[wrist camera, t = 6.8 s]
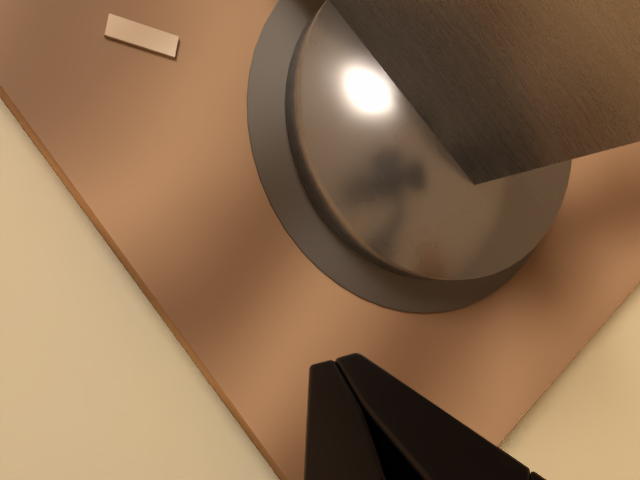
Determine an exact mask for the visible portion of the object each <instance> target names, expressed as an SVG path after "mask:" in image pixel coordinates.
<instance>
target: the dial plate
mask: <svg viewBox="0 0 640 480" xmlns="http://www.w3.org/2000/svg"><path fill="white" fill-rule="evenodd" d="M324 1H325V0H0V97H1V98H2V100H3V101H4V103H5V104H6V105H7V107H8V108H9V109H10V111H11V112H12V114H13V115H14V116H15V118H16V119H17V120H18V122H19V123H20V124H21V126H22V127H23V129H24V130H25V131H26V133H27V134H28V135H29V137H30V138H31V140H32V141H33V142H34V144H35V145H36V146H37V148H38V149H39V150H40V152H41V153H42V155H43V156H44V157H45V159H46V160H47V161H48V163H49V164H50V166H51V167H52V168H53V170H54V171H55V172H56V174H57V175H58V176H59V178H60V179H61V181H62V182H63V183H64V185H65V186H66V187H67V189H68V190H69V192H70V193H71V194H72V196H73V197H74V198H75V200H76V201H77V202H78V204H79V205H80V207H81V208H82V209H83V211H84V212H85V213H86V215H87V216H88V218H89V219H90V220H91V222H92V223H93V224H94V226H95V227H96V228H97V230H98V231H99V233H100V234H101V235H102V237H103V238H104V239H105V241H106V242H107V244H108V245H109V246H110V248H111V249H112V250H113V252H114V253H115V254H116V256H117V257H118V259H119V260H120V261H121V263H122V264H123V265H124V267H125V268H126V270H127V271H128V272H129V274H130V275H131V276H132V278H133V279H134V280H135V282H136V283H137V285H138V286H139V287H140V289H141V290H142V291H143V293H144V294H145V295H146V297H147V298H148V300H149V301H150V302H151V304H152V305H153V306H154V308H155V309H156V311H157V312H158V313H159V315H160V316H161V317H162V319H163V320H164V321H165V323H166V324H167V326H168V327H169V328H170V330H171V331H172V332H173V334H174V335H175V337H176V338H177V339H178V341H179V342H180V343H181V345H182V346H183V347H184V349H185V350H186V352H187V353H188V354H189V356H190V357H191V358H192V360H193V361H194V363H195V364H196V365H197V367H198V368H199V369H200V371H201V372H202V373H203V375H204V376H205V378H206V379H207V380H208V382H209V383H210V384H211V386H212V387H213V389H214V390H215V391H216V393H217V394H218V395H219V397H220V398H221V399H222V401H223V402H224V404H225V405H226V406H227V408H228V409H229V410H230V412H231V413H232V415H233V416H234V417H235V419H236V420H237V421H238V423H239V424H240V425H241V427H242V428H243V430H244V431H245V432H246V434H247V435H248V436H249V438H250V439H251V441H252V442H253V443H254V445H255V446H256V447H257V449H258V450H259V451H260V453H261V454H262V456H263V457H264V458H265V460H266V461H267V462H268V464H269V465H270V467H271V468H272V469H273V471H274V472H275V473H276V475H277V476H278V477H279V479H280V480H303V468H304V451H305V433H306V416H307V398H308V381H309V368H310V366H311V365H313V364H316V363H320V362H323V361H327V360H333V361H334V362H335V360H336V359H337V358H338V357H342V356H345V355H349V354H353V353H359V354H362V355H363V356H365V357H366V358H368V359H369V360H370V361H372V362H373V363H375V364H376V365H378V366H379V367H381V368H382V369H384V370H385V371H387V372H388V373H390V374H391V375H393V376H394V377H395V378H397V379H398V380H400V381H401V382H403V383H404V384H406V385H407V386H409V387H410V388H412V389H413V390H415V391H416V392H418V393H419V394H420V395H422V396H423V397H425V398H426V399H428V400H429V401H431V402H432V403H434V404H435V405H437V406H438V407H440V408H441V409H443V410H444V411H445V412H447V413H448V414H450V415H451V416H453V417H454V418H456V419H457V420H459V421H460V422H462V423H463V424H465V425H466V426H467V427H469V428H470V429H472V430H473V431H475V432H476V433H478V434H479V435H481V436H482V437H484V438H485V439H487V440H488V441H490V442H491V443H492V444H494V445H495V446H498V445H499V444H500V442H501V441H502V440H503V439H504V438H505V437H506V435H507V434H508V433H509V432H510V431H511V430H512V428H513V427H514V426H515V425H516V424H517V423H518V422H519V420H520V419H521V418H522V417H523V416H524V415H525V413H526V412H527V411H528V410H529V409H530V408H531V407H532V405H533V404H534V403H535V402H536V401H537V400H538V398H539V397H540V396H541V395H542V394H543V393H544V391H545V390H546V389H547V388H548V387H549V386H550V385H551V383H552V382H553V381H554V380H555V379H556V378H557V376H558V375H559V374H560V373H561V372H562V371H563V370H564V368H565V367H566V366H567V365H568V364H569V363H570V361H571V360H572V359H573V358H574V357H575V356H576V355H577V353H578V352H579V351H580V350H581V349H582V348H583V346H584V345H585V344H586V343H587V342H588V341H589V339H590V338H591V337H592V336H593V335H594V334H595V333H596V331H597V330H598V329H599V328H600V327H601V326H602V324H603V323H604V322H605V321H606V320H607V319H608V318H609V316H610V315H611V314H612V313H613V312H614V311H615V309H616V308H617V307H618V306H619V305H620V304H621V302H622V301H623V300H624V299H625V298H626V297H627V296H628V294H629V293H630V292H631V291H632V290H633V289H634V287H635V286H636V285H637V284H638V283H639V282H640V141H639V142H636V143H632V144H628V145H624V146H620V147H617V148H613V149H609V150H605V151H602V152H598V153H594V154H590V155H586V156H583V157H579V158H575V159H572V163H571V171H570V176H569V181H568V186H567V190H566V193H565V196H564V199H563V202H562V205H561V207H560V209H559V211H558V214H557V216H556V218H555V220H554V222H553V223H552V225H551V227H550V228H549V230H548V231H547V233H546V235H545V236H544V237H543V238H542V239H541V241H540V242H539V243H538V244H537V245H536V247H535V248H534V249H532V250H531V251H530V252H529V253H528V254H527V255H526V256H525V257H524V258H522V259H521V260H519V261H518V262H516V263H515V264H513V265H512V266H510V267H509V268H506V269H504V270H502V271H500V272H497V273H495V274H492V275H488V276H485V277H481V278H477V279H465V280H446V281H429V280H417V279H412V278H408V277H404V276H400V275H397V274H395V273H392V272H389V271H387V270H384V269H382V268H380V267H378V266H377V265H375V264H373V263H371V262H370V261H368V260H366V259H364V258H363V257H362V256H361V255H359V254H358V253H357V252H355V251H354V250H353V249H351V248H350V247H349V246H348V245H347V244H346V243H345V242H344V241H343V240H342V239H341V238H340V237H339V236H338V235H337V234H336V233H335V232H334V231H333V230H332V229H331V228H330V227H329V225H328V224H327V223H326V221H325V220H324V219H323V218H322V216H321V215H320V214H319V212H318V211H317V209H316V207H315V206H314V204H313V202H312V201H311V199H310V198H309V196H308V194H307V192H306V190H305V188H304V186H303V183H302V181H301V179H300V177H299V175H298V172H297V169H296V166H295V163H294V160H293V157H292V154H291V150H290V145H289V140H288V135H287V130H286V118H285V90H286V80H287V75H288V69H289V64H290V60H291V57H292V54H293V52H294V49H295V46H296V43H297V41H298V39H299V37H300V35H301V33H302V31H303V29H304V27H305V25H306V24H307V22H308V21H309V20H310V18H311V17H312V15H313V14H314V13H315V11H316V10H317V9H318V8H319V7H320V6H321V4H322V3H323V2H324Z"/></svg>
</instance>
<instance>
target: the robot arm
mask: <svg viewBox="0 0 640 480" xmlns="http://www.w3.org/2000/svg"><path fill="white" fill-rule="evenodd" d="M303 480H546V479H544V478H543V477H541V476H540V475H538V474H537V473H535V472H531V473H530V470H529V468H528V467H526V466H525V465H523V464H522V463H520V462H519V461H517V460H516V459H515V458H513V457H512V456H510V455H509V454H507V453H506V452H504V451H503V450H501V449H500V448H498V447H497V446H495V445H494V444H492V443H491V442H490V441H488V440H487V439H485V438H484V437H482V436H481V435H479V434H478V433H476V432H475V431H473V430H472V429H470V428H469V427H467V426H466V425H465V424H463V423H462V422H460V421H459V420H457V419H456V418H454V417H453V416H451V415H450V414H448V413H447V412H445V411H444V410H443V409H441V408H440V407H438V406H437V405H435V404H434V403H432V402H431V401H429V400H428V399H426V398H425V397H423V396H422V395H420V394H419V393H418V392H416V391H415V390H413V389H412V388H410V387H409V386H407V385H406V384H404V383H403V382H401V381H400V380H398V379H397V378H395V377H394V376H393V375H391V374H390V373H388V372H387V371H385V370H384V369H382V368H381V367H379V366H378V365H376V364H375V363H373V362H372V361H370V360H369V359H368V358H366V357H365V356H363V355H362V354H359V353H353V354H349V355H345V356H342V357H338V358H337V359H336V360H335V362H334V361H333V360H327V361H323V362H320V363H316V364H313V365H311V366H310V368H309V381H308V398H307V416H306V433H305V451H304V468H303Z"/></svg>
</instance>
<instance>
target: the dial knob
mask: <svg viewBox="0 0 640 480" xmlns="http://www.w3.org/2000/svg"><path fill="white" fill-rule="evenodd" d="M285 118H286V130H287V135H288V140H289V145H290V150H291V154H292V157H293V160H294V163H295V166H296V169H297V172H298V175H299V177H300V179H301V181H302V183H303V186H304V188H305V190H306V192H307V194H308V196H309V198H310V199H311V201H312V202H313V204H314V206H315V207H316V209H317V211H318V212H319V214H320V215H321V216H322V218H323V219H324V220H325V221H326V223H327V224H328V225H329V227H330V228H331V229H332V230H333V231H334V232H335V233H336V234H337V235H338V236H339V237H340V238H341V239H342V240H343V241H344V242H345V243H346V244H347V245H348V246H349V247H350V248H351V249H353V250H354V251H355V252H357V253H358V254H359V255H361V256H362V257H363V258H364V259H366V260H368V261H370V262H371V263H373V264H375V265H377V266H378V267H380V268H382V269H384V270H387V271H389V272H392V273H395V274H397V275H400V276H404V277H408V278H412V279H417V280H429V281H446V280H465V279H477V278H481V277H485V276H488V275H492V274H495V273H497V272H500V271H502V270H504V269H506V268H509V267H510V266H512V265H513V264H515V263H516V262H518V261H519V260H521V259H522V258H524V257H525V256H526V255H527V254H528V253H529V252H530V251H531V250H532V249H534V248H535V247H536V245H537V244H538V243H539V242H540V241H541V239H542V238H543V237H544V236H545V235H546V233H547V231H548V230H549V228H550V227H551V225H552V223H553V222H554V220H555V218H556V216H557V214H558V211H559V209H560V207H561V205H562V202H563V199H564V196H565V193H566V190H567V186H568V181H569V176H570V171H571V163H572V159H575V158H579V157H583V156H586V155H590V154H594V153H598V152H602V151H605V150H609V149H613V148H617V147H620V146H624V145H628V144H632V143H636V142H639V141H640V0H325V1H324V2H323V3H322V4H321V6H320V7H319V8H318V9H317V10H316V11H315V13H314V14H313V15H312V17H311V18H310V20H309V21H308V22H307V24H306V25H305V27H304V29H303V31H302V33H301V35H300V37H299V39H298V41H297V43H296V46H295V49H294V52H293V54H292V57H291V60H290V64H289V69H288V75H287V80H286V90H285Z"/></svg>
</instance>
